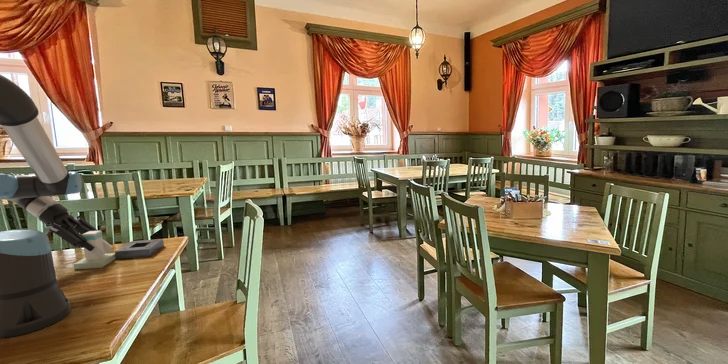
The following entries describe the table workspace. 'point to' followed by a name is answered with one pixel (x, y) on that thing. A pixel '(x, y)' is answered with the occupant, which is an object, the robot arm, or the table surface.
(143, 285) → the table surface
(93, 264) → the pale green square slab
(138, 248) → the socket block
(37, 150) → the robot arm
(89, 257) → the plug peg
